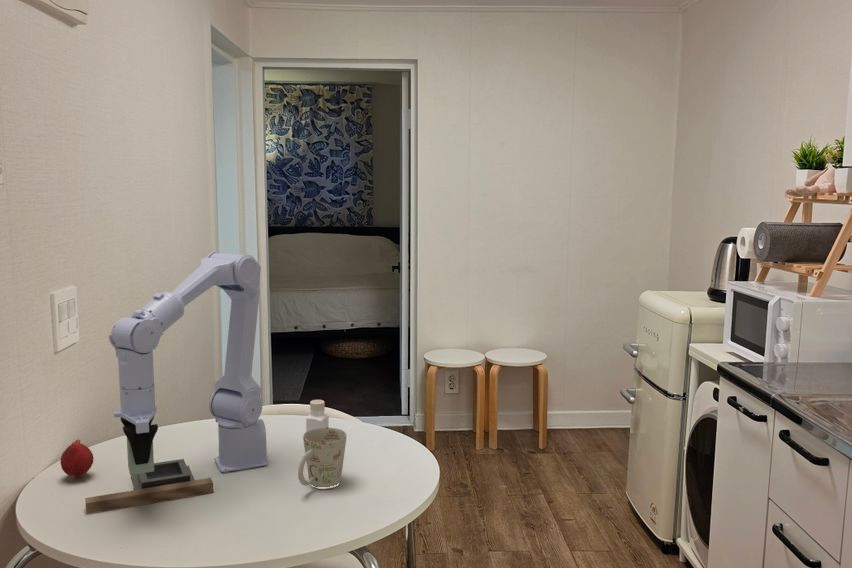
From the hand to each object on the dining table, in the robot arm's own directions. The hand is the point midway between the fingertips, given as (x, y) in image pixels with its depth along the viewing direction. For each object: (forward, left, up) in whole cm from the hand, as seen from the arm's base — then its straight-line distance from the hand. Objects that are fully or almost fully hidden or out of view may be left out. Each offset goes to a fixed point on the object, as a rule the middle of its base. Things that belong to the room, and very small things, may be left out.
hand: (140, 458), depth 133 cm
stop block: (0, 0, -2) cm, 2 cm away
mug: (-32, +5, -10) cm, 33 cm away
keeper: (-5, -9, -9) cm, 14 cm away
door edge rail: (-2, -3, -9) cm, 10 cm away
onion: (+10, -18, -10) cm, 23 cm away
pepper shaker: (-39, -18, -10) cm, 44 cm away
